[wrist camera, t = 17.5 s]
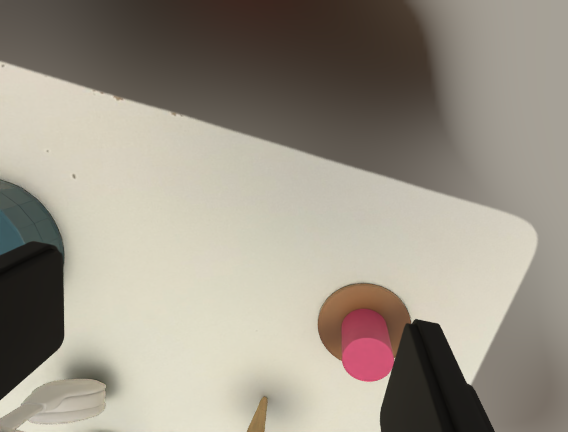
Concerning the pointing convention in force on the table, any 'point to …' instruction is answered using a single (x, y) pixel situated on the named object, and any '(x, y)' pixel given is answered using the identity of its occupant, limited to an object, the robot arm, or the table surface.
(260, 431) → the ice cream cone
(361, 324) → the pink cylinder block
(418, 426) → the robot arm
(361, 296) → the coaster
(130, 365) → the table surface
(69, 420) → the headphones
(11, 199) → the bowl
